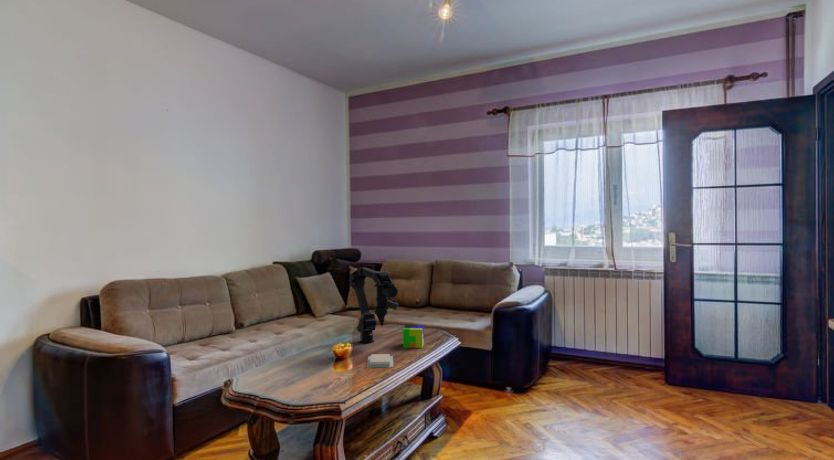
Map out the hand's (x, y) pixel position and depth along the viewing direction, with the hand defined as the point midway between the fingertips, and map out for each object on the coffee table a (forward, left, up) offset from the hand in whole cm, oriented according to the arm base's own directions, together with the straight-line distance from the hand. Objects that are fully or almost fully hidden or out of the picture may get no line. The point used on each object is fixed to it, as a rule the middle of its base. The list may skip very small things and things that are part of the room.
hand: (382, 325), depth 240 cm
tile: (+13, -16, -11) cm, 23 cm away
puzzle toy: (+11, +13, -12) cm, 21 cm away
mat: (+15, -19, -12) cm, 27 cm away
